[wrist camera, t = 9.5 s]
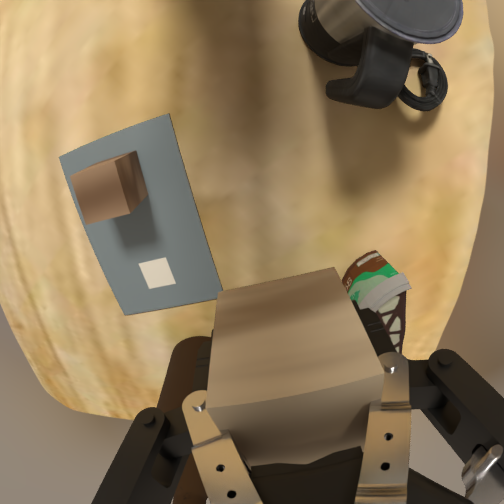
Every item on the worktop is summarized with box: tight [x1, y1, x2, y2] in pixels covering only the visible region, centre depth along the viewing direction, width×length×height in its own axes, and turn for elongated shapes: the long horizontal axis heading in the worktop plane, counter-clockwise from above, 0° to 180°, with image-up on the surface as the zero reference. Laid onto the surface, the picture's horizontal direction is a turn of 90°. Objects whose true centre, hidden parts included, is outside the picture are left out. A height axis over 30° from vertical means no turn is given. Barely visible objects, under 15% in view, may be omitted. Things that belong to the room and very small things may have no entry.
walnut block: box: [70, 150, 148, 225], centre depth 28 cm, size 5×5×6 cm
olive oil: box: [157, 336, 211, 504], centre depth 32 cm, size 11×11×25 cm
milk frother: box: [298, 0, 463, 111], centre depth 19 cm, size 14×16×15 cm
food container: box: [342, 250, 411, 354], centre depth 34 cm, size 12×6×10 cm, turn 14°
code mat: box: [59, 114, 223, 315], centre depth 34 cm, size 22×14×1 cm, turn 13°
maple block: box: [206, 267, 384, 466], centre depth 11 cm, size 5×5×6 cm
